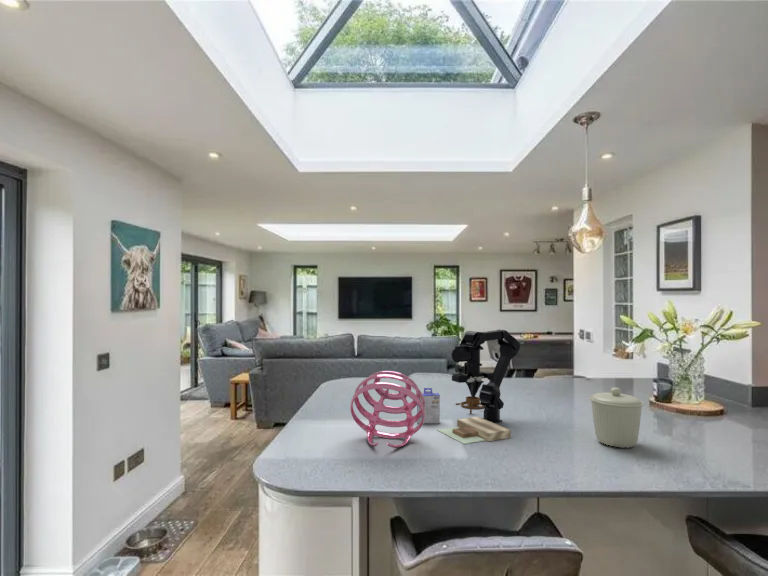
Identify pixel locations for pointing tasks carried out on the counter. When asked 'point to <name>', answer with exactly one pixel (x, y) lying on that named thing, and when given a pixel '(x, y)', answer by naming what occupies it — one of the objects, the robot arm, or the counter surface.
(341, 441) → the counter surface
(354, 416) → the spiral basket
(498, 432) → the board
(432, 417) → the ink cartridge box
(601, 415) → the canister
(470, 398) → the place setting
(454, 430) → the walnut coaster
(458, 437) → the sage mat
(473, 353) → the robot arm
